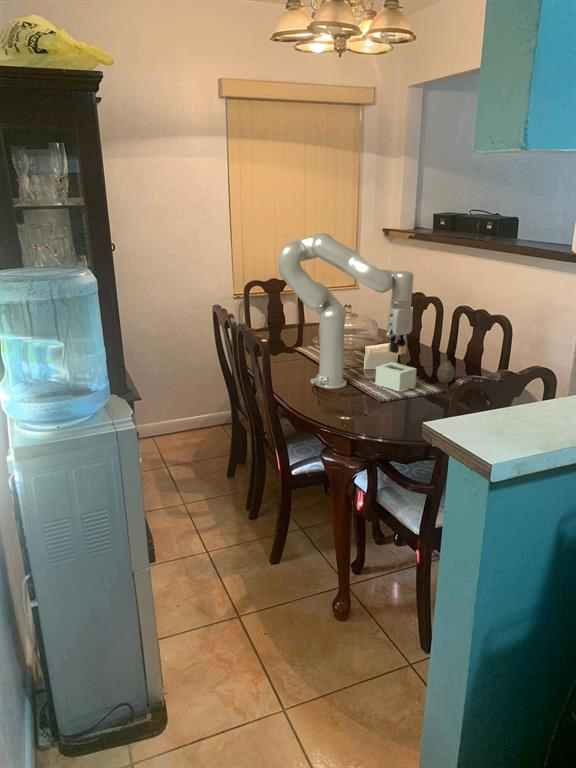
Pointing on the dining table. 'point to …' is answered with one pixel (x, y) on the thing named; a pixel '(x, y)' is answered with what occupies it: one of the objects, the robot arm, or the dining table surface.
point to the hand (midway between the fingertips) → (397, 350)
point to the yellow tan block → (399, 349)
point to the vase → (446, 372)
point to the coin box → (395, 376)
